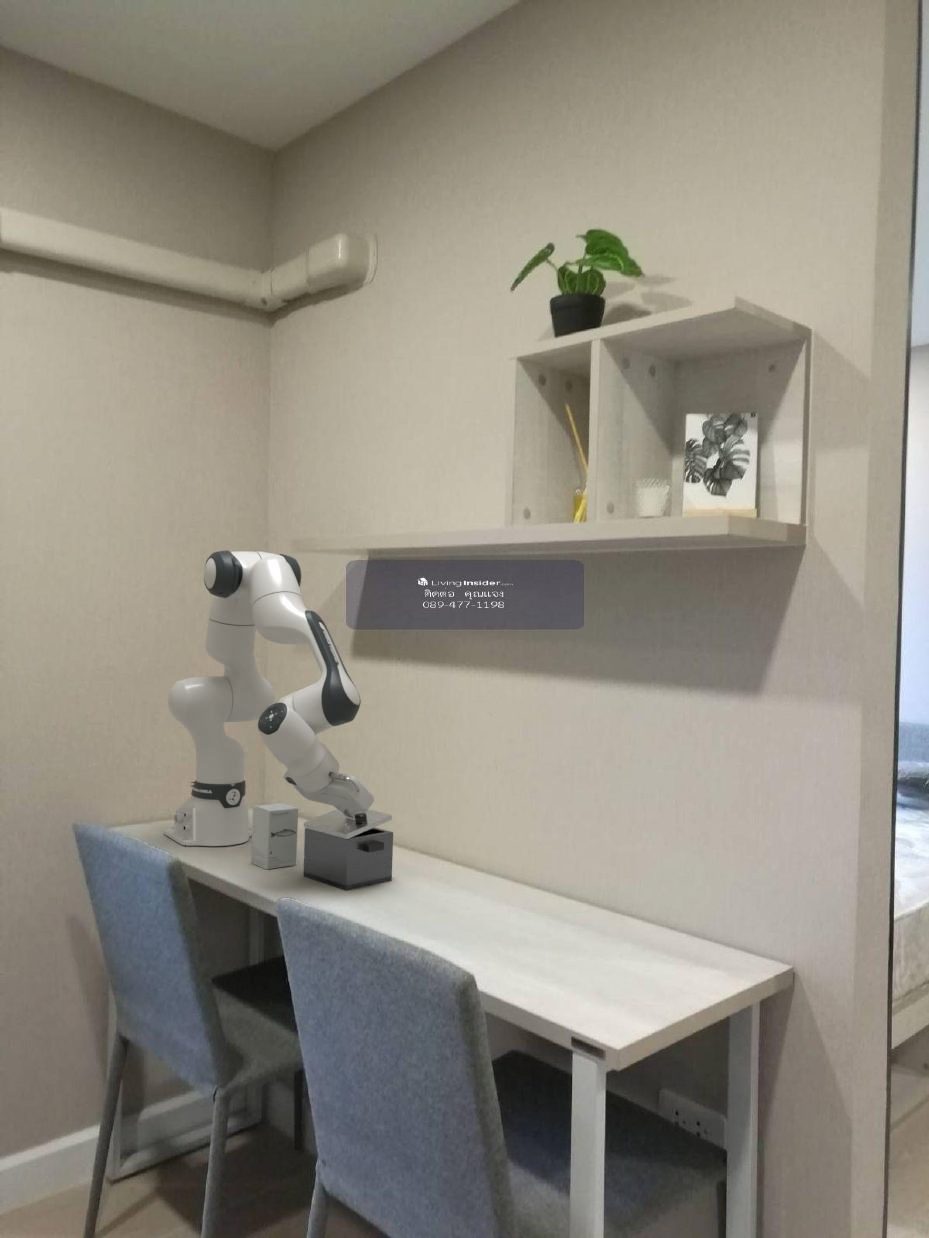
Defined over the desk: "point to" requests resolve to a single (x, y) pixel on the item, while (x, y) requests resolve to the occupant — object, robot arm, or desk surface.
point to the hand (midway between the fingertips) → (353, 814)
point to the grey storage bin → (349, 858)
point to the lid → (347, 823)
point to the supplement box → (274, 835)
